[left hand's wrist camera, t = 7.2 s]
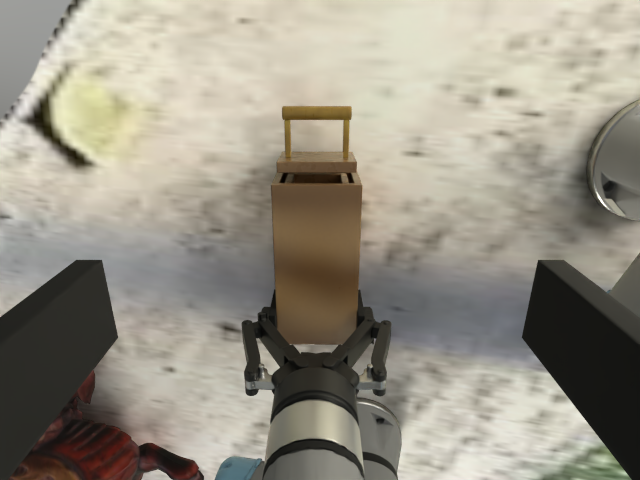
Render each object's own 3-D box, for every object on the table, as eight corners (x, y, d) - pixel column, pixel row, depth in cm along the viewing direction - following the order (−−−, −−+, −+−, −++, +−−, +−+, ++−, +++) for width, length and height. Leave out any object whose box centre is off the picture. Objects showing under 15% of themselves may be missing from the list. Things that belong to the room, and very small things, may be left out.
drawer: (280, 104, 49) (274, 108, 43) (354, 104, 49) (358, 108, 43) (286, 292, 58) (282, 317, 52) (348, 292, 58) (351, 317, 52)
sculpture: (34, 525, 78) (-27, 606, 65) (-78, 405, 70) (-171, 471, 58) (224, 458, 68) (195, 539, 56) (119, 311, 61) (57, 367, 48)
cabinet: (278, 168, 52) (270, 184, 45) (356, 169, 52) (362, 185, 45) (283, 310, 60) (277, 344, 52) (351, 310, 60) (356, 344, 52)
